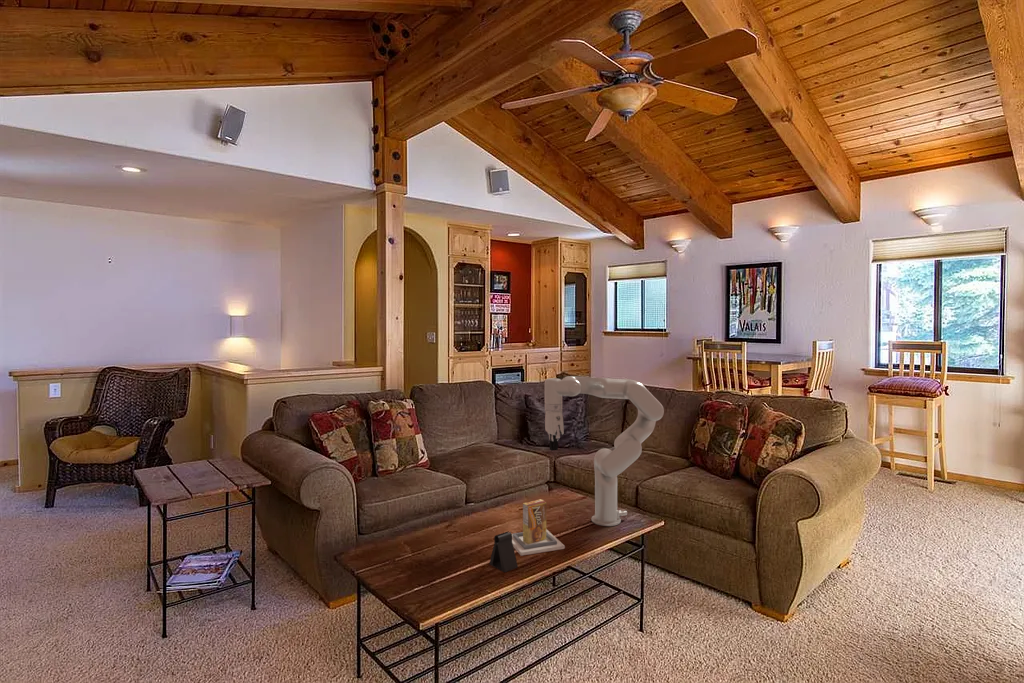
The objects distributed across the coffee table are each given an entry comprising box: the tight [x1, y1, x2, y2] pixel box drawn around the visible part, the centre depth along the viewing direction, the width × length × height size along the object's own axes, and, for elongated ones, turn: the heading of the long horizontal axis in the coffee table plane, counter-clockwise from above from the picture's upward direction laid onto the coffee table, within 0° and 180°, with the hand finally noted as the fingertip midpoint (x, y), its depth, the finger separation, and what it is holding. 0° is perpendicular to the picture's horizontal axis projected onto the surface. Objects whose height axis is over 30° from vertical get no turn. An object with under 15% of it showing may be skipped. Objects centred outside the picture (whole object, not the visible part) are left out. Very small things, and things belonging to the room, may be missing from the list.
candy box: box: [522, 498, 547, 544], centre depth 232 cm, size 9×4×15 cm, turn 124°
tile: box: [511, 528, 566, 557], centre depth 232 cm, size 18×18×2 cm
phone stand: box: [488, 531, 519, 573], centre depth 212 cm, size 9×6×12 cm, turn 40°
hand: (553, 449), depth 252 cm, fingers closed
